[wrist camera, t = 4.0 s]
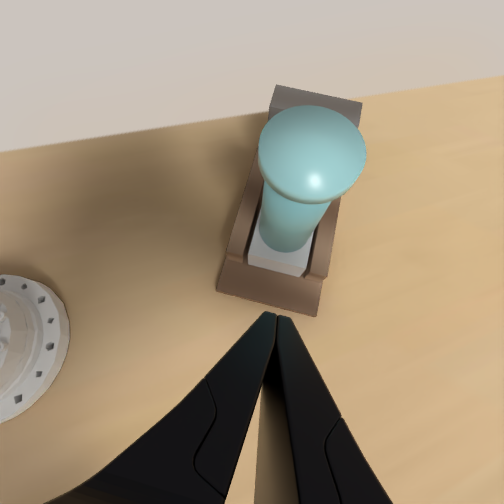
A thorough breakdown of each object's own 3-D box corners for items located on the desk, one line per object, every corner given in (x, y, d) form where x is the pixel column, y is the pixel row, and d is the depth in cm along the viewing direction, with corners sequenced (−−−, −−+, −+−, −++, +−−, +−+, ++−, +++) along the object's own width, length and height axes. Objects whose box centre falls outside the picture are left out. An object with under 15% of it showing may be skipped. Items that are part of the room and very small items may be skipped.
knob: (301, 277, 20) (357, 213, 10) (245, 263, 21) (244, 186, 10) (313, 219, 22) (372, 112, 12) (261, 206, 22) (273, 91, 12)
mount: (314, 317, 20) (345, 305, 14) (216, 291, 21) (204, 269, 14) (341, 165, 24) (374, 105, 18) (260, 147, 25) (264, 82, 19)
